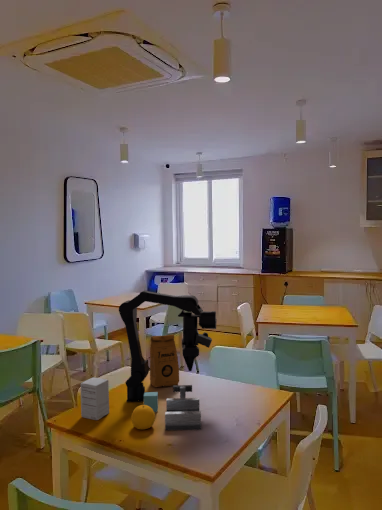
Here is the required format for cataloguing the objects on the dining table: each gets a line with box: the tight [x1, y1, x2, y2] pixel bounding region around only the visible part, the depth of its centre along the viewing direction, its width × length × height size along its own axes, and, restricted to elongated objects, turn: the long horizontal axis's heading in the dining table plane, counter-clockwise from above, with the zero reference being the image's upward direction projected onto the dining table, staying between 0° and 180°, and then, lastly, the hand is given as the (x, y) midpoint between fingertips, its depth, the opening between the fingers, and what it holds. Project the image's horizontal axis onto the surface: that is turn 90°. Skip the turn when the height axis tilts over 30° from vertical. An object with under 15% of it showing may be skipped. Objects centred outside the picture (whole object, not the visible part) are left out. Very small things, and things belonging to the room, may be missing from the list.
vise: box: [164, 408, 202, 431], centre depth 152 cm, size 12×18×5 cm, turn 1°
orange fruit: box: [130, 404, 156, 430], centre depth 145 cm, size 8×8×8 cm
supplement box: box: [80, 377, 110, 421], centre depth 156 cm, size 7×7×13 cm
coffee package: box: [149, 334, 180, 388], centre depth 188 cm, size 10×12×22 cm
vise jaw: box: [166, 384, 200, 411], centre depth 159 cm, size 12×6×7 cm, turn 91°
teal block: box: [143, 391, 159, 413], centre depth 161 cm, size 5×4×6 cm
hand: (189, 367), depth 168 cm, fingers open, 9 cm apart
